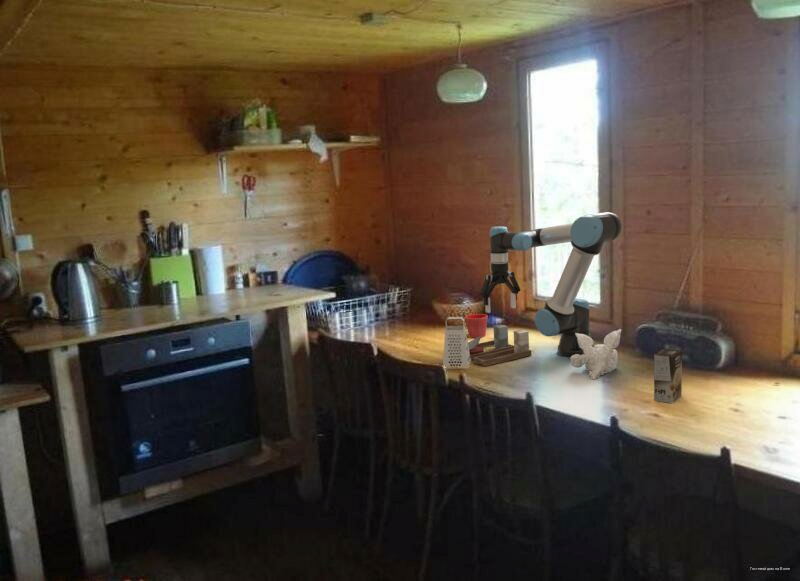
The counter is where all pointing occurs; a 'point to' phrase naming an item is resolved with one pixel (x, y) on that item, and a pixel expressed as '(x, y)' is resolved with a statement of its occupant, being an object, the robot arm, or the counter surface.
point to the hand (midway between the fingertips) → (500, 310)
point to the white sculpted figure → (597, 354)
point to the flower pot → (476, 325)
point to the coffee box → (667, 375)
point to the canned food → (473, 348)
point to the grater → (456, 345)
